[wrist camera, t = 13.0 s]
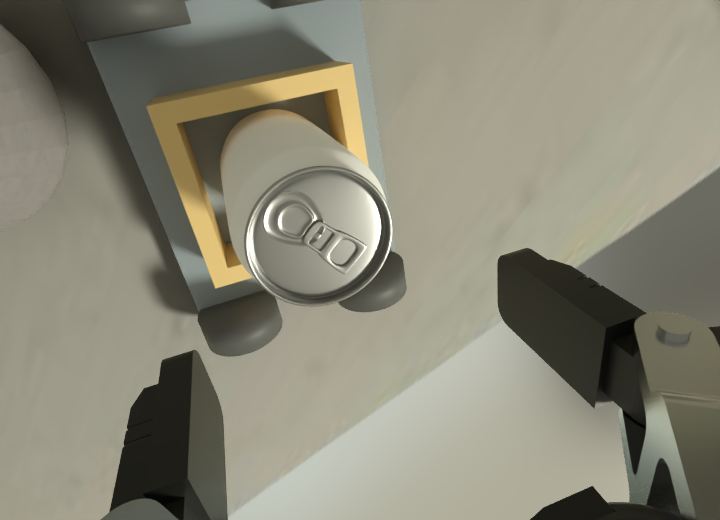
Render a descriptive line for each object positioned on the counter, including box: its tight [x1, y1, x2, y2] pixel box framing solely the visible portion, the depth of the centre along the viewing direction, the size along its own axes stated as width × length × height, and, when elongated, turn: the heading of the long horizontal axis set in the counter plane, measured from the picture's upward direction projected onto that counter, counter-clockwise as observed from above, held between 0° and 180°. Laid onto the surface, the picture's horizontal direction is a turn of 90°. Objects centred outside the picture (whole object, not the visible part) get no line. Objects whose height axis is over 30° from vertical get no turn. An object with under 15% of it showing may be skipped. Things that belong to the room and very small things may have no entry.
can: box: [220, 109, 392, 306], centre depth 22 cm, size 6×6×12 cm
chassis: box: [63, 0, 406, 356], centre depth 26 cm, size 14×20×5 cm
